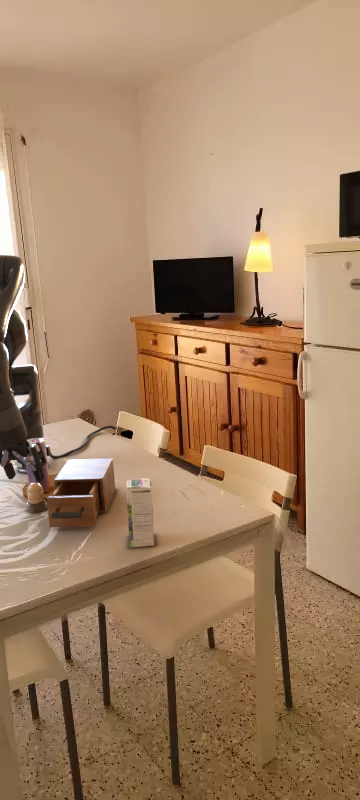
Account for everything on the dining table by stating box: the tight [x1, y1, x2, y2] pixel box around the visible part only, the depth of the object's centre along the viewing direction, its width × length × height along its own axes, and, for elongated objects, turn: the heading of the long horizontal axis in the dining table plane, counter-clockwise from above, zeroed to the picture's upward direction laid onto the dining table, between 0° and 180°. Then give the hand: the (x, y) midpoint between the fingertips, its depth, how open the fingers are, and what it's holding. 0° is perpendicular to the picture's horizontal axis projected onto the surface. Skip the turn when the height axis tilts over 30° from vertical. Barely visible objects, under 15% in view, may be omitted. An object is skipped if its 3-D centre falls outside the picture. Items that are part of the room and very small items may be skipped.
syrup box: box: [126, 478, 155, 549], centre depth 141 cm, size 6×6×14 cm
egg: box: [26, 482, 47, 513], centre depth 163 cm, size 5×5×7 cm
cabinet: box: [53, 457, 116, 514], centre depth 166 cm, size 16×13×10 cm
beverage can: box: [26, 438, 51, 494], centre depth 175 cm, size 6×6×15 cm
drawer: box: [45, 481, 102, 528], centre depth 154 cm, size 19×11×8 cm, turn 176°
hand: (26, 479), depth 150 cm, fingers open, 8 cm apart
